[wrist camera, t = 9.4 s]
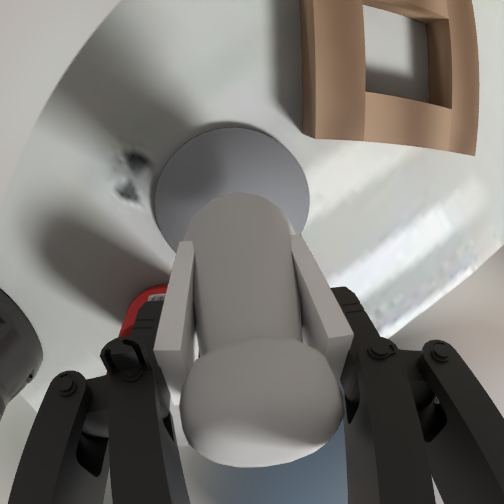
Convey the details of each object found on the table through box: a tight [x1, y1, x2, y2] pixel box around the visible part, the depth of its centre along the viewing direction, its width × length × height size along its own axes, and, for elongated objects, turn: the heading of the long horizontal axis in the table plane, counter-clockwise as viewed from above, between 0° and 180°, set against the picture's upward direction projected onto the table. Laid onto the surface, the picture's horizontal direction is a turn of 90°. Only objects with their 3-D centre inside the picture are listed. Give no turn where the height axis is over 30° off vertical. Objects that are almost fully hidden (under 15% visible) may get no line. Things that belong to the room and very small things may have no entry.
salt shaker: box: [179, 192, 345, 467], centre depth 12 cm, size 6×6×13 cm
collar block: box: [300, 0, 479, 156], centre depth 15 cm, size 14×14×3 cm
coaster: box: [155, 128, 310, 253], centre depth 21 cm, size 11×11×1 cm
